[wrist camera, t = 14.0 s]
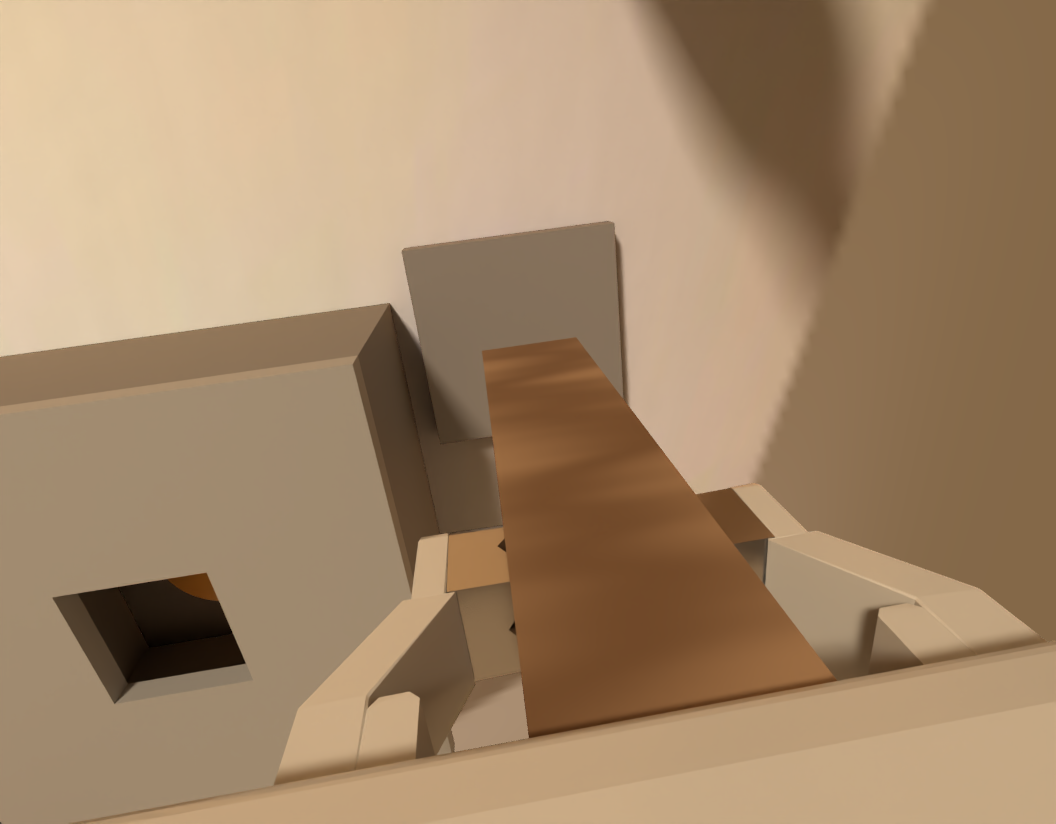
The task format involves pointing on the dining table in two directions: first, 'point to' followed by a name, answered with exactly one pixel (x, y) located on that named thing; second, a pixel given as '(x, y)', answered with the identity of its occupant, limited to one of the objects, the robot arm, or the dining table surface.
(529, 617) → the brown wooden bar
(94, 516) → the box
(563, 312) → the pad
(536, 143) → the dining table surface
